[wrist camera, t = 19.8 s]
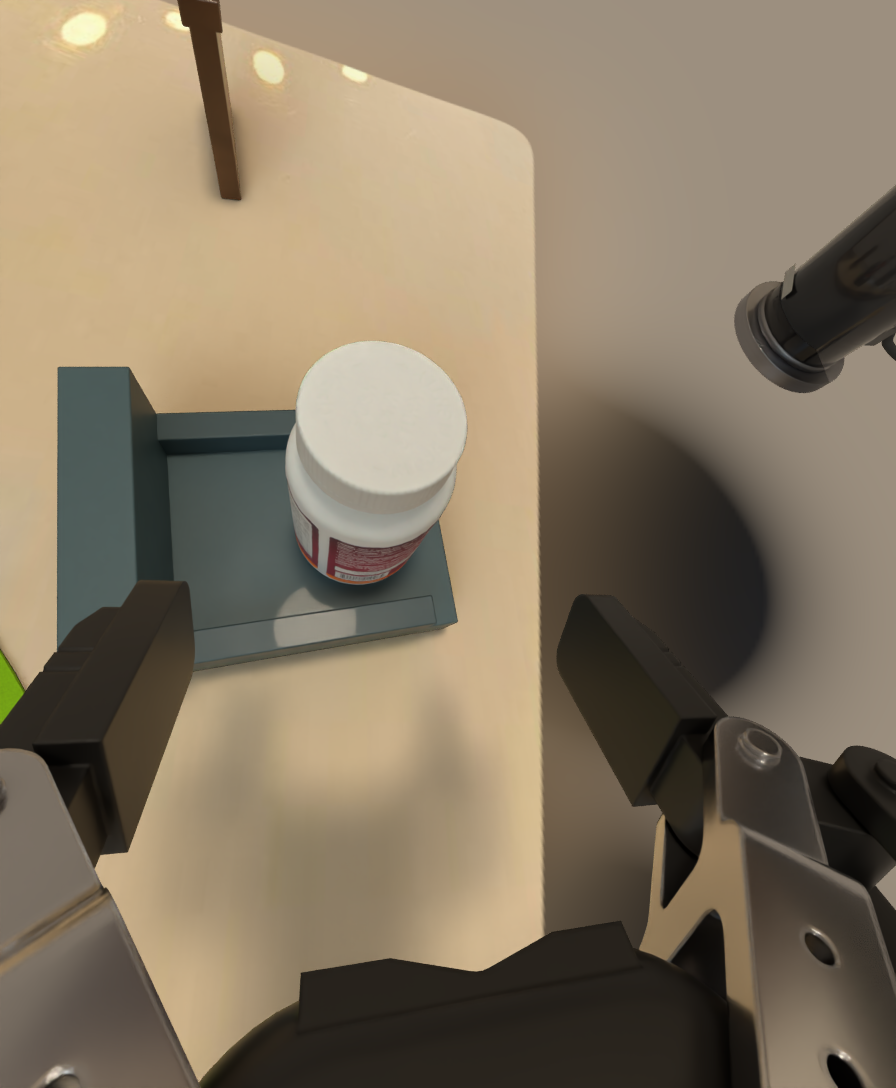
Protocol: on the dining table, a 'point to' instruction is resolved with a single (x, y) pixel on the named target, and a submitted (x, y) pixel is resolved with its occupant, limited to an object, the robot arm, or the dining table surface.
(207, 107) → the brown t-shaped panel
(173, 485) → the sofa
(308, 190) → the dining table surface
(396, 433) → the pill bottle
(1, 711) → the cloth
